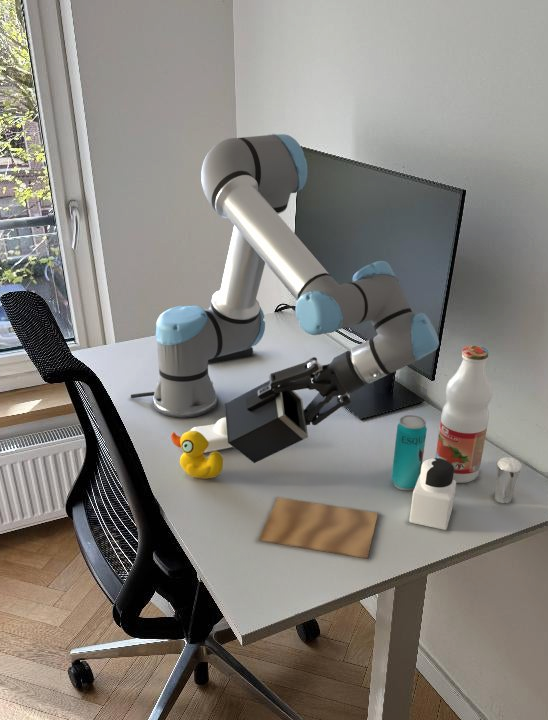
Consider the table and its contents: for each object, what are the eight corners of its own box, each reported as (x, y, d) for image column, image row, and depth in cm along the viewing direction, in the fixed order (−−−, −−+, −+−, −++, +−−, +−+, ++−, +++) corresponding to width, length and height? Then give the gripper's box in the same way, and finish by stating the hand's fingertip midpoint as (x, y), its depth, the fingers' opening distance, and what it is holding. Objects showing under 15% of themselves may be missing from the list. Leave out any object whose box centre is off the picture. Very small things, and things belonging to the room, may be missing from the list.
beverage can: (418, 494, 153) (426, 429, 145) (389, 490, 154) (397, 425, 146) (419, 479, 158) (428, 415, 150) (392, 475, 158) (399, 412, 151)
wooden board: (259, 540, 138) (259, 538, 138) (277, 499, 150) (277, 497, 150) (367, 558, 134) (367, 556, 134) (377, 514, 146) (378, 512, 146)
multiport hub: (253, 355, 211) (253, 348, 210) (204, 364, 205) (204, 356, 204) (247, 350, 214) (247, 342, 213) (199, 358, 209) (198, 350, 208)
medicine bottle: (451, 510, 148) (460, 458, 142) (446, 531, 142) (454, 477, 136) (415, 503, 150) (422, 451, 144) (408, 523, 144) (415, 469, 138)
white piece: (176, 437, 170) (174, 414, 167) (259, 424, 177) (259, 401, 174) (187, 460, 162) (186, 436, 159) (275, 445, 168) (275, 422, 165)
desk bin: (308, 437, 148) (302, 398, 154) (283, 414, 142) (277, 375, 148) (254, 463, 153) (250, 425, 159) (227, 442, 147) (224, 403, 152)
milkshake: (514, 509, 149) (523, 466, 144) (487, 500, 151) (495, 458, 146) (521, 498, 152) (530, 456, 147) (495, 490, 155) (503, 448, 150)
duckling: (167, 475, 156) (164, 433, 151) (179, 463, 161) (177, 422, 156) (216, 487, 153) (215, 445, 148) (228, 474, 157) (227, 433, 152)
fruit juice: (487, 480, 158) (510, 356, 144) (447, 487, 155) (467, 362, 141) (464, 457, 166) (483, 338, 151) (425, 464, 163) (442, 343, 149)
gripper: (333, 349, 133) (230, 403, 142) (388, 410, 148) (292, 456, 157) (327, 320, 137) (228, 374, 146) (381, 382, 153) (288, 428, 161)
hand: (261, 416), depth 151 cm, fingers closed on desk bin, 9 cm apart
